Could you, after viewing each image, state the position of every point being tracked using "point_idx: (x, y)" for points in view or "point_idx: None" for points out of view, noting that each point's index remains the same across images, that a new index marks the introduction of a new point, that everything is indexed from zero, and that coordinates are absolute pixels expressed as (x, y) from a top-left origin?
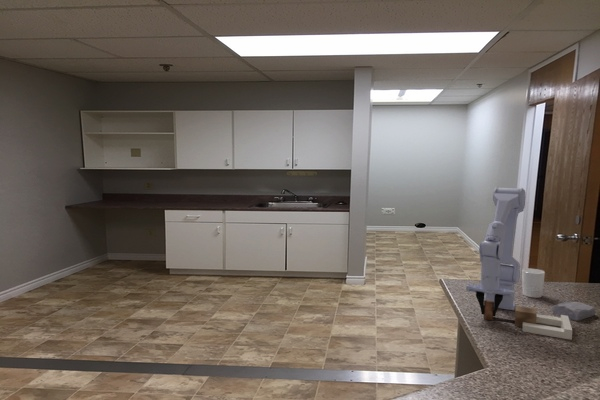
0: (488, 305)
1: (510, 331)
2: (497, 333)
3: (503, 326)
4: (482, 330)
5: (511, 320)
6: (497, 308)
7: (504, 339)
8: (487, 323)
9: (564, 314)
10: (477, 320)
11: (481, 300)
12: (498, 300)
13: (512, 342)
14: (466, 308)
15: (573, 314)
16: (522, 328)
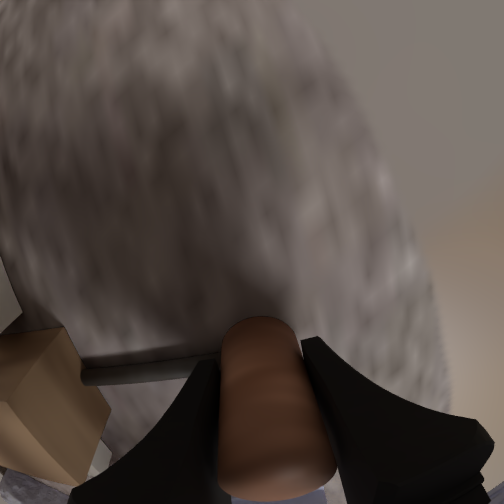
0: (267, 420)
1: (37, 187)
2: (97, 64)
3: (103, 256)
4: (217, 32)
5: (98, 376)
6: (162, 417)
7: (47, 13)
8: (231, 232)
9: (40, 491)
10: (327, 246)
11: (381, 429)
12: (108, 494)
13: (10, 18)
14: (417, 401)
15: (10, 483)
16: (16, 300)
